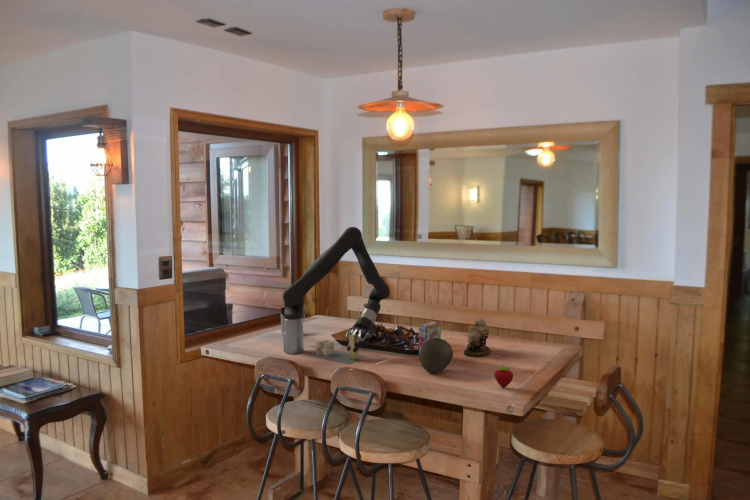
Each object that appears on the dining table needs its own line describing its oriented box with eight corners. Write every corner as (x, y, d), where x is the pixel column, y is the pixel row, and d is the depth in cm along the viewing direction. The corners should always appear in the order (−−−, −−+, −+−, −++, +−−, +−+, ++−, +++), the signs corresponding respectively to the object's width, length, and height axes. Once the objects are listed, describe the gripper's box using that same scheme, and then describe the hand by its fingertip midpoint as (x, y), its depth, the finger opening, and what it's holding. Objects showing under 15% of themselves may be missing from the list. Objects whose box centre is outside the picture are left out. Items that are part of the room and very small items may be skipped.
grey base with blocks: (305, 355, 276) (304, 330, 275) (324, 349, 287) (323, 325, 286) (349, 365, 259) (349, 338, 258) (368, 358, 270) (367, 332, 269)
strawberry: (511, 391, 221) (511, 367, 220) (492, 389, 225) (492, 364, 224) (514, 387, 227) (514, 362, 226) (496, 384, 230) (496, 360, 229)
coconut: (429, 379, 238) (429, 344, 237) (414, 369, 251) (414, 336, 250) (458, 374, 244) (458, 340, 243) (441, 365, 257) (441, 333, 256)
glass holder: (279, 333, 323) (278, 307, 322) (304, 331, 328) (303, 305, 326) (281, 336, 315) (280, 310, 314) (306, 334, 319) (306, 308, 318)
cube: (316, 354, 277) (316, 342, 276) (325, 351, 281) (324, 339, 281) (326, 356, 273) (325, 344, 272) (334, 353, 278) (333, 341, 277)
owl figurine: (472, 346, 288) (472, 314, 286) (494, 350, 282) (495, 316, 281) (459, 355, 273) (459, 320, 271) (482, 359, 267) (483, 323, 265)
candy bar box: (426, 360, 265) (426, 326, 263) (418, 358, 268) (418, 324, 267) (441, 355, 273) (441, 322, 271) (433, 353, 276) (433, 320, 275)
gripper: (351, 314, 275) (335, 344, 266) (374, 317, 266) (359, 348, 258) (358, 322, 279) (343, 352, 271) (381, 326, 271) (366, 357, 262)
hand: (351, 350), depth 264 cm, fingers closed on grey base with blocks, 3 cm apart
